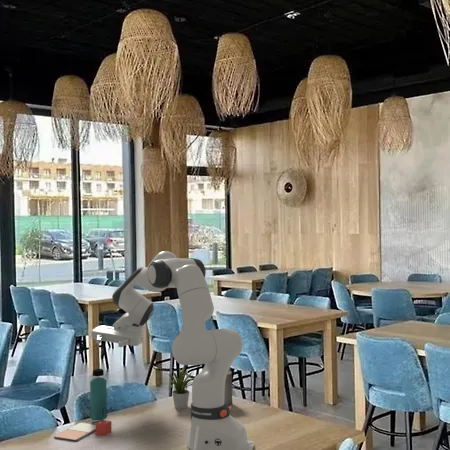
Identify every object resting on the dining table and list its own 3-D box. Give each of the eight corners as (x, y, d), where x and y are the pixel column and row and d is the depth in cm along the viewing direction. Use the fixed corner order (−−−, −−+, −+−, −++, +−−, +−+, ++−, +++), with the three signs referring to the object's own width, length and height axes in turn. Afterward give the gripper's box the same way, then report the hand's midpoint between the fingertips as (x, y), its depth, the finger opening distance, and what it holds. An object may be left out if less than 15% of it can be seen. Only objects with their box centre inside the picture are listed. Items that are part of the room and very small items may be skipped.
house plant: (177, 415, 233) (177, 374, 233) (155, 408, 242) (155, 368, 243) (203, 407, 243) (203, 367, 243) (181, 400, 253) (181, 362, 253)
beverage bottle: (103, 425, 222) (103, 371, 222) (86, 424, 223) (86, 371, 223) (110, 419, 228) (109, 367, 228) (94, 418, 230) (93, 367, 230)
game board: (103, 426, 220) (103, 424, 220) (76, 441, 205) (76, 439, 205) (81, 423, 224) (81, 421, 224) (52, 438, 208) (52, 436, 208)
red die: (111, 432, 214) (111, 420, 214) (105, 435, 211) (105, 424, 211) (102, 430, 216) (102, 419, 216) (95, 434, 212) (95, 422, 212)
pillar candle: (222, 399, 254) (221, 364, 254) (237, 405, 246) (236, 369, 246) (204, 404, 248) (203, 368, 248) (218, 409, 240) (218, 373, 240)
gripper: (99, 319, 247) (84, 332, 234) (145, 326, 243) (133, 339, 230) (99, 333, 248) (84, 346, 235) (145, 340, 244) (132, 354, 231)
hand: (108, 343), depth 232 cm, fingers open, 8 cm apart
